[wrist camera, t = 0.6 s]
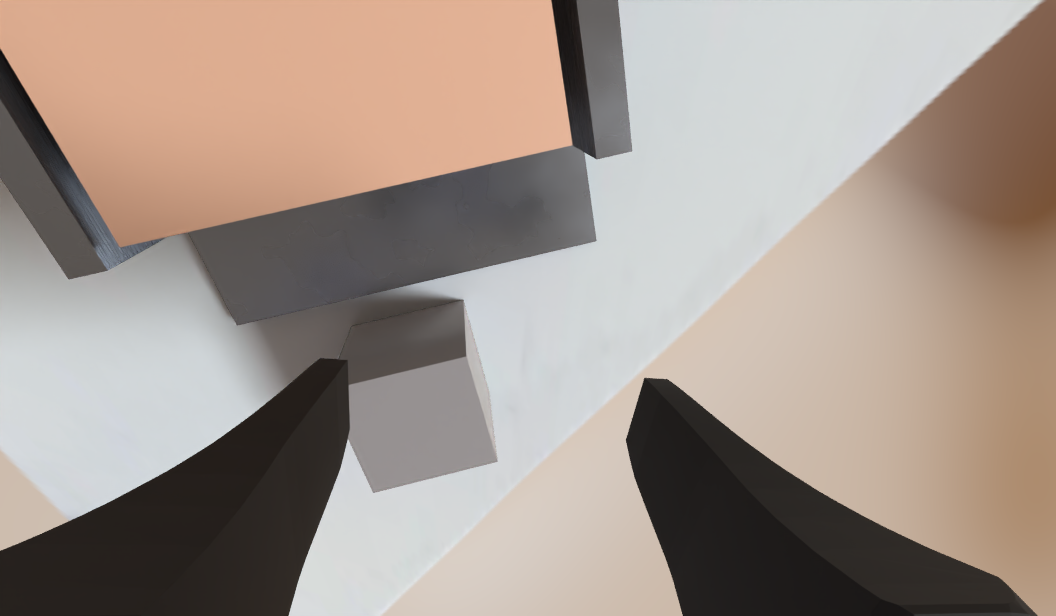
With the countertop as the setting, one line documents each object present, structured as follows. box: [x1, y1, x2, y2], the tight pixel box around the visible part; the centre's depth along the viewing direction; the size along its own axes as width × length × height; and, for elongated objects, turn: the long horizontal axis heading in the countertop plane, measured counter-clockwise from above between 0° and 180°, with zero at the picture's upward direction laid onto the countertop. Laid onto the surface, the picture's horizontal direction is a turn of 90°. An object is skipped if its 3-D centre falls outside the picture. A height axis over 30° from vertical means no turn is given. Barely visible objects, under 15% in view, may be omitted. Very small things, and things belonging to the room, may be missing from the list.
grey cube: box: [339, 300, 498, 493], centre depth 20 cm, size 5×5×5 cm
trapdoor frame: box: [0, 0, 632, 325], centre depth 14 cm, size 15×19×6 cm
